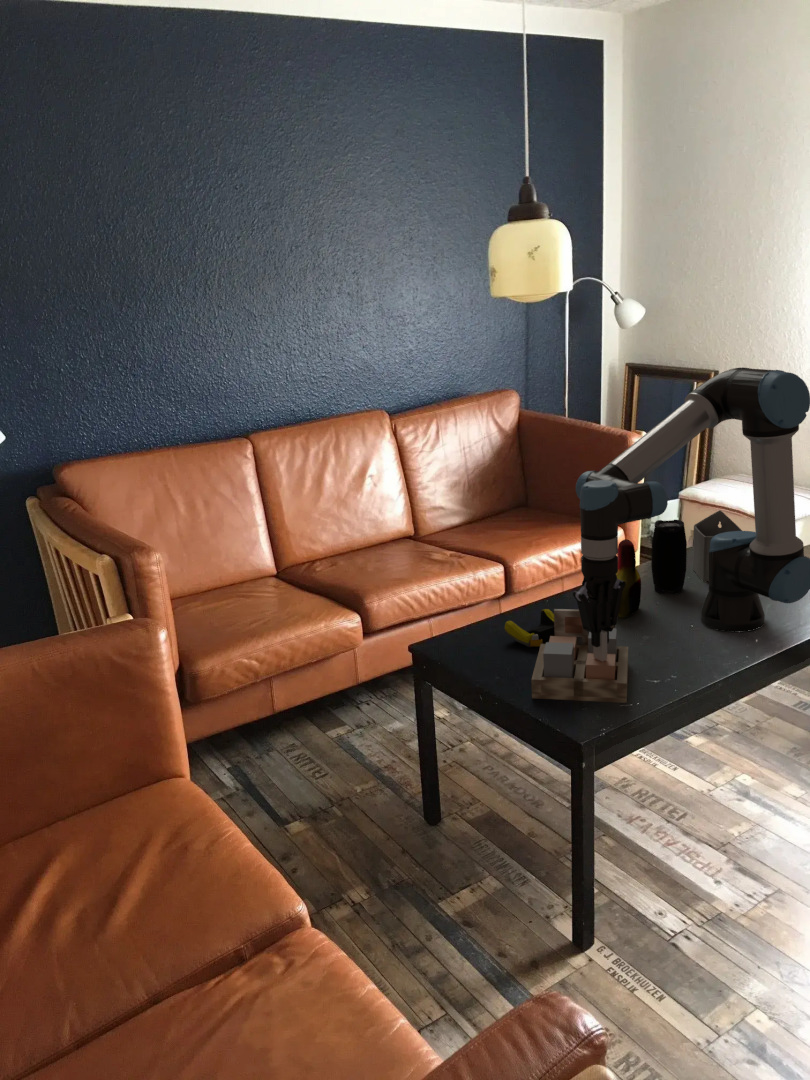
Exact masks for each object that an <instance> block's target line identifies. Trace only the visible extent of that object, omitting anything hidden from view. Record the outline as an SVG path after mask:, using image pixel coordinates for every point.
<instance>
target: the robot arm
mask: <svg viewBox="0 0 810 1080" xmlns="http://www.w3.org/2000/svg"><path fill="white" fill-rule="evenodd" d="M809 411H810V391H809V387H808V385H807V383H806V382H805V381H804V380H803V379H802V377H800V376H799V375H798V374H795V373H793V372H788V371H787V372H786V371H784V370H780V369H761V368H750V367H735V368H731V369H728V370H725V371H722V372H720V373H718V374H716V375H715V376H712V377H711V378H710V379H707V380H706V381H704V382H703V383H701V384H700V385H699V386H697V387H696V388H694V389H693V390H692V391H691V392H689V393H688V394H687V395H686V396H685V398H684V403H683V404H682V405H680V406H679V407H677V409H675V410H674V411H673V412H671V413H670V414H668V415H667V416H666V417H665V418H664V419H663V420H662V421H660V422H659V423H658V424H656V425H655V426H654V427H653V428H651V429H650V430H649V431H648V432H647V433H645V434H644V435H643V436H641V437H640V438H639V439H638V440H636V441H635V442H634V443H633V444H631V446H629V447H628V448H626V449H625V450H624V451H623V452H622V453H620V454H619V455H618V456H617V457H615V458H614V459H613V460H612V461H610V462H609V463H608V464H606V465H605V466H604V467H602V468H601V469H600V470H587V471H584V472H583V473H582V474H581V475H580V476H579V477H578V479H577V481H576V483H575V493H576V496H577V498H578V499H579V511H580V513H579V514H580V515H579V516H580V553H581V555H582V556H581V558H580V566H581V567H580V572H581V573H582V577H583V578H582V579H583V580H582V583H581V587H580V589H579V590H578V591H577V590H574V591H573V594H572V596H573V597H574V599H575V601H576V603H577V609H578V610H579V612H580V617H581V621H582V625H583V629H584V630H586V631H588V632H591V644H592V646H593V657H594V658H596V659H598V660H600V661H605V660H607V643H609V631H610V632H611V631H612V630H613V628H611V626H615V627H616V625H617V624H618V618H619V617H618V613H619V608H620V602H621V597H622V592H623V590H624V587H625V585H626V582H625V581H622V580H619V579H617V575H616V573H617V572H618V545H619V539H618V538H619V537H618V536H619V525H621V524H627V523H632V522H637V521H641V520H646V519H647V520H650V519H652V518H654V517H659V516H662V515H663V513H665V511H666V510H667V509H668V504H669V503H668V499H669V498H668V496H669V495H668V493H667V491H666V489H665V487H664V485H663V484H662V483H660V482H659V481H647V480H646V481H644V482H642V483H640V482H641V481H643V479H645V478H646V477H648V476H649V475H650V474H651V473H653V471H655V470H656V469H657V468H659V467H660V466H661V465H662V464H663V463H665V462H666V461H667V460H668V459H670V458H672V456H673V455H675V454H676V453H677V452H678V451H680V450H681V449H683V447H685V446H686V445H687V444H688V443H690V441H692V440H693V439H695V438H696V437H697V436H698V435H699V434H701V433H702V432H704V430H706V429H714V428H715V427H716V426H718V425H719V424H721V423H722V422H724V421H728V420H736V421H737V420H738V421H741V431H742V436H743V437H745V438H746V439H747V440H749V442H750V459H751V475H752V477H751V478H752V491H753V510H754V511H753V512H754V527H755V528H754V529H755V531H749V530H742V531H731V532H724V533H720V534H717V535H715V536H714V537H713V538H712V539H711V542H710V550H709V582H708V592H707V594H706V597H705V600H704V603H703V605H702V607H701V609H700V610H701V611H700V621H701V623H702V624H703V625H704V626H706V627H709V628H711V629H713V630H716V629H718V631H720V630H724V631H723V632H727V631H734V632H733V633H736V632H735V631H748V630H753V629H756V628H758V627H761V626H762V625H763V624H765V615H766V614H765V610H764V608H763V605H762V602H761V598H760V595H761V596H764V597H766V598H769V599H770V600H772V601H775V602H780V603H783V604H793V603H796V602H798V601H800V600H801V599H803V598H804V597H805V596H806V595H808V594H809V591H810V557H809V556H805V551H804V550H805V547H804V546H805V545H804V542H803V540H802V539H800V538H799V537H798V536H797V531H796V530H797V529H796V505H795V504H796V503H795V484H794V483H795V481H794V480H795V479H794V463H793V462H794V459H793V457H794V456H793V436H794V435H796V433H798V432H799V429H800V424H802V423H803V422H804V420H805V419H806V417H807V413H808V412H809ZM611 618H612V619H611ZM763 626H764V625H763ZM763 626H762V627H763ZM762 627H761V628H762ZM756 630H757V629H756ZM753 631H754V630H753ZM748 632H749V631H748Z"/></svg>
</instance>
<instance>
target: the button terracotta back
mask: <svg viewBox="0 0 810 1080" xmlns="http://www.w3.org/2000/svg"><path fill="white" fill-rule="evenodd" d="M549 642H552V643H574V660H577V637H567V636H550V640H549Z"/></svg>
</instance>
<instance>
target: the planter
mask: <svg viewBox="0 0 810 1080" xmlns="http://www.w3.org/2000/svg"><path fill="white" fill-rule="evenodd" d="M719 524H720V527H719ZM731 531H743V529H741V528H740V527H739V526H738V525H737V524H736V523H735V522H734V521H733V520H732V519H731V518H730V517H729V516H728V515H726V513H724V512H723V511H722V510H721V509H720V510H718V511H716V512H714V513H712V514H710V515H709V516H707V517H705V518H704V519H702V520H700V521H699V522H697V523H695V524H694V525H693V536H692V537H693V538H692V539H693V542H692V543H693V547H692V548H693V550H692V552H693V553H692V570H693V569H694V570H693V571H695V572H696V573H695V572H694V573H695V574H696V576H697V575H698V576H699V577H700V578H701V579H702V580H703V581H709V550H710V542H711V539H712V538H713V537H714V536H715V535H717V534H720V533H724V532H731ZM698 576H697V577H698ZM699 577H698V578H699ZM700 578H699V579H700ZM701 579H700V580H701ZM702 580H701V581H702ZM703 581H702V582H703Z"/></svg>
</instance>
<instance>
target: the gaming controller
mask: <svg viewBox="0 0 810 1080" xmlns="http://www.w3.org/2000/svg"><path fill="white" fill-rule="evenodd" d="M504 632H505V633H506V634H507V636H508V637H509V638H511V639H513V640H514V641H515V642H518V643H519V644H522V645H524V646H525V647H526V648H537V647H539V648H540V645H541V644H546V642H549V640H550V636H555V630H554V612H553V611H552V610H550V609H549V608H544V609H542V610H541V611H540V623H539V625H538V626H537V627H534V628H530V629H528V630H525V629H523V628H522V627H520V626H519V625H518V624H516V623H515V622H514V621H512V620H507V621H506V622H505V624H504Z"/></svg>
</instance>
